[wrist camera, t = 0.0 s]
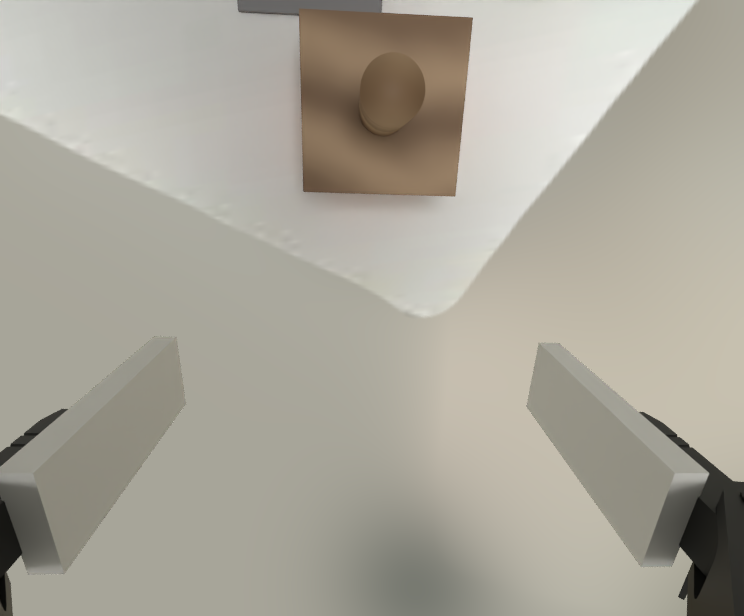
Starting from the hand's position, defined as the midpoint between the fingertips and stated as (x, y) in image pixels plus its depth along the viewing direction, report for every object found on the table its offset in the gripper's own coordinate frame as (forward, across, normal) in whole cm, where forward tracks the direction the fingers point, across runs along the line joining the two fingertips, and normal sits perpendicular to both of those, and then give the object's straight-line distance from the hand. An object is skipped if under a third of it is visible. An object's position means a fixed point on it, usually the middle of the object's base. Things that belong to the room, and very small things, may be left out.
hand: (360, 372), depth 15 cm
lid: (+20, +2, +11) cm, 23 cm away
